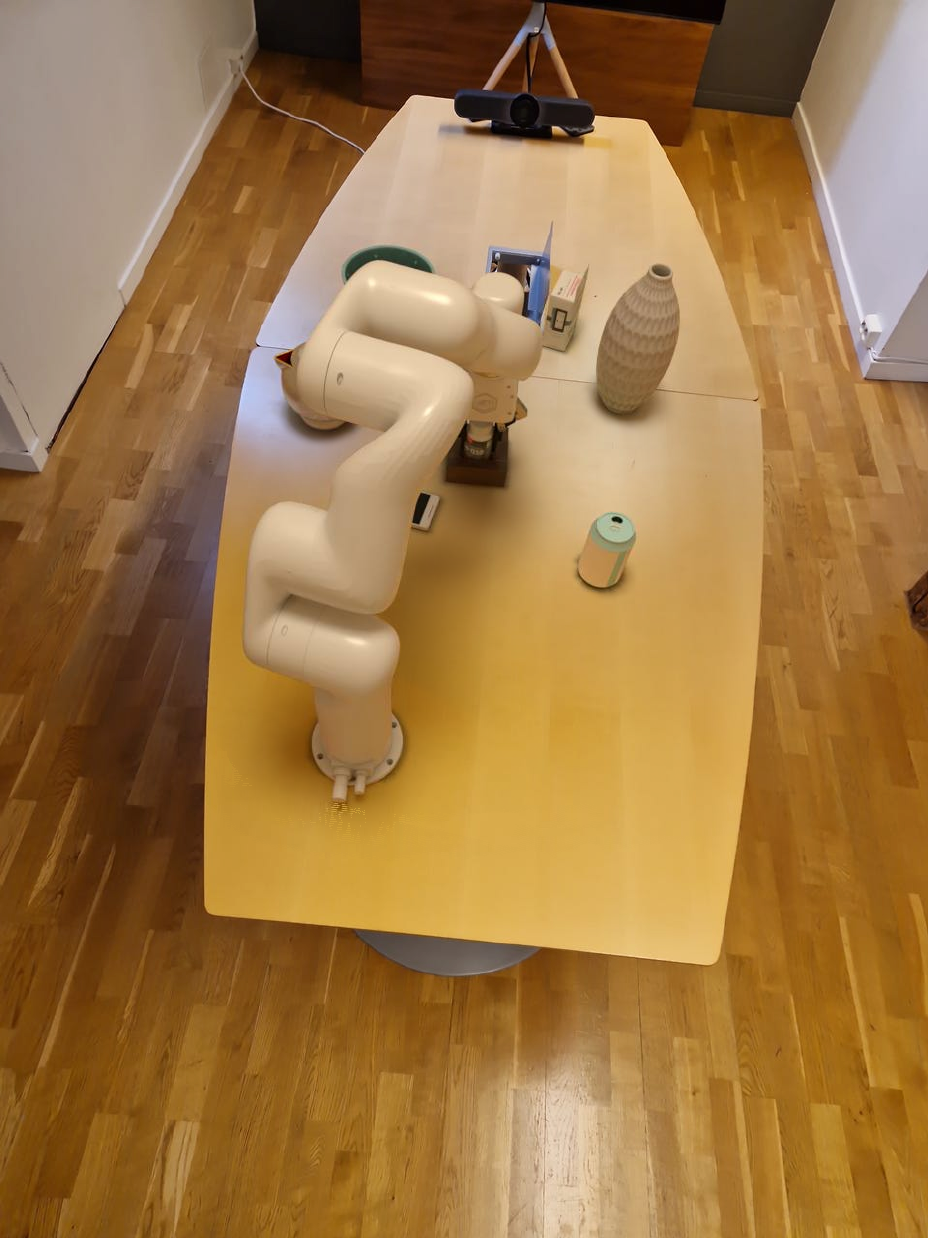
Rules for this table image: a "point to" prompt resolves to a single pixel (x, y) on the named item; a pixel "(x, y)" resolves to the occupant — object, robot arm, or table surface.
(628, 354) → the vase
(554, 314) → the ink box
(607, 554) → the can
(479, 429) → the pill bottle
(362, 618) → the robot arm
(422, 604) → the table surface
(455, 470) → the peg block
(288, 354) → the teapot
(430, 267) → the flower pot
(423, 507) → the smartphone
